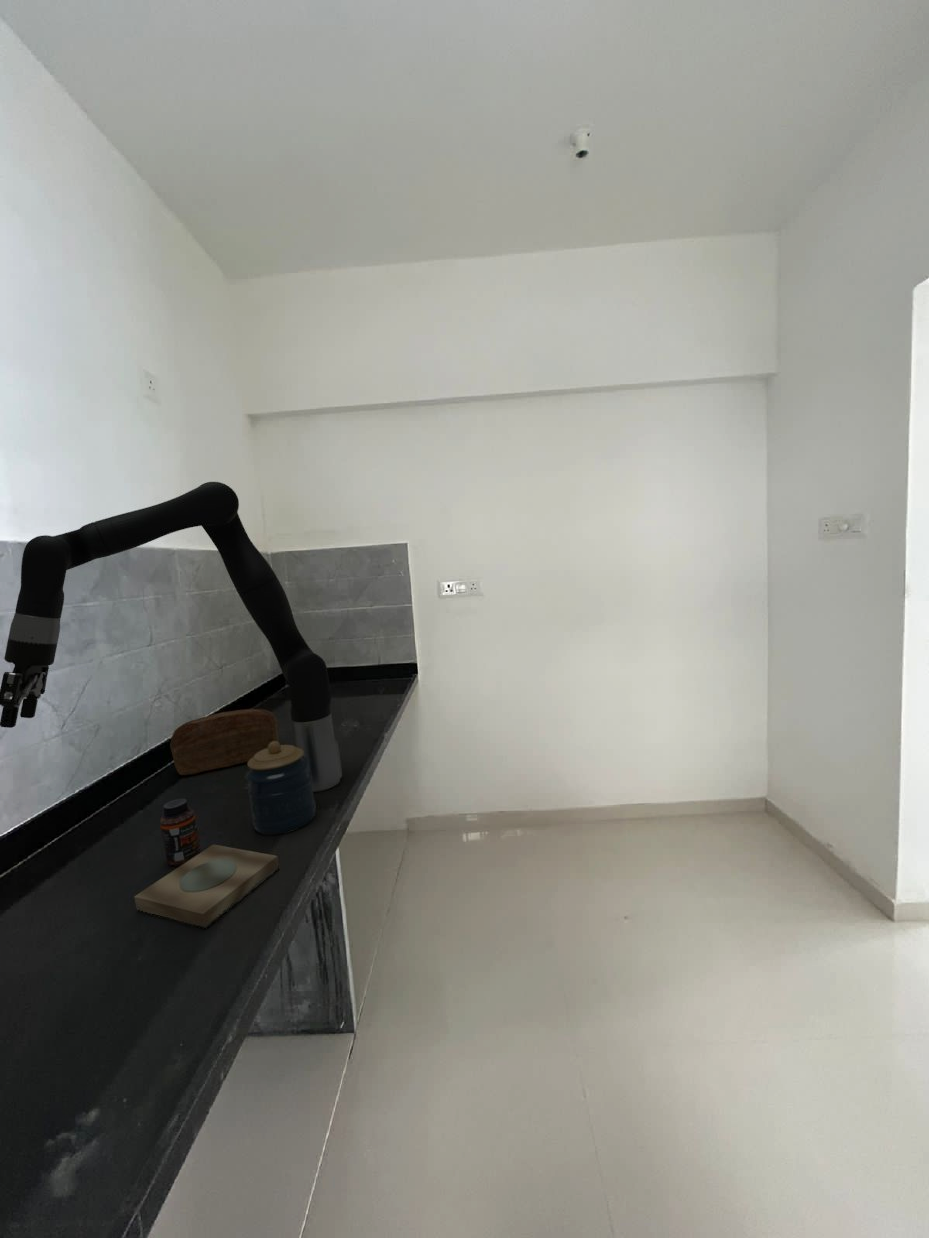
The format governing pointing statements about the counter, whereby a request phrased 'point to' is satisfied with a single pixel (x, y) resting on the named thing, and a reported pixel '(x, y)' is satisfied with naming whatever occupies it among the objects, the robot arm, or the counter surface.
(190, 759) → the bread
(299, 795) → the canister
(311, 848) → the counter surface
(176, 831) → the supplement bottle
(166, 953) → the counter surface
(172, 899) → the oak board
